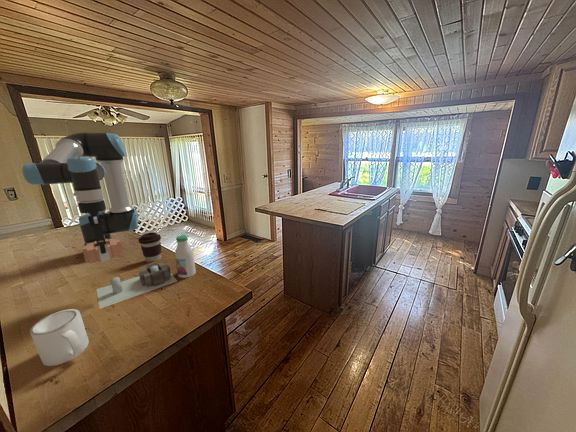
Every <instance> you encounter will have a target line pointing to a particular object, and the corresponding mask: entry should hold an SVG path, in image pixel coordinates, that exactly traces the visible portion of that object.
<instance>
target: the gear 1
mask: <svg viewBox="0 0 576 432" xmlns="http://www.w3.org/2000/svg"><path fill="white" fill-rule="evenodd" d="M111 238H112V237H111ZM105 241H106V244H107V248H108V252H109V256H110V260H109V261H111V260H113V258H119V257H120V256H121V254H123V247H122V243H121V240H120V238H117V239H116V238H115V237H114V238H112V239H105ZM99 242H101V241H99ZM109 242H110V243H109ZM93 243H94V244H97V242H96V241H95V242H92V243H87V244H86V246H84V245H83V246H82V247H81V249H82V253H83V257H84V258H83V259H84V260H85V261H84V262H85V263H88V262H89V264H95V263H102V262H101V259H100V255H99V251H98V248H97V246H95V245H94V244H93Z"/></svg>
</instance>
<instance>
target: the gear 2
mask: <svg viewBox="0 0 576 432" xmlns="http://www.w3.org/2000/svg"><path fill="white" fill-rule="evenodd" d="M152 266H158V270H159V271H156V272H152V273H151V270H150V267H152ZM171 274H172V272H171V267H170V265H169V263H164V261H162V262H159V263H157V262H156V263H155V262H154V263H151V264H148V265H146V267H142V268H140V271H138V276H139V277H140V282H141V284H142V286H144V285H146V286H147V287H150V286H152V285H154V286H157V285H160V284H163V283H165V281H168V280H170V277H171Z"/></svg>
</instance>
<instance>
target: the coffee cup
mask: <svg viewBox="0 0 576 432" xmlns="http://www.w3.org/2000/svg"><path fill="white" fill-rule="evenodd" d="M161 239H162V236H161V235H160V234H158V233H157V232H155V231H154V232H152V231H151V232H146V233H143V234H142V235H141V237H139V238H138V239H137V240H138V243H139V244H140V248H141V250H142V251H141V252H142V254H143V257H144V261H145V263H151V262H156V261H158V260H160V259H162V245H161V244H162V243H161Z"/></svg>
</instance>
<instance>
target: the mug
mask: <svg viewBox="0 0 576 432" xmlns="http://www.w3.org/2000/svg"><path fill="white" fill-rule="evenodd" d="M83 321H84V320H83V318H82V315H81V311H80V310H78V309H75V308H67V309H63V310H58V311H56V312H53V313H51V314H47V315H46V316H45V317H43V318H41V319H39V320H38V321H37V322H35V323H34V324H33V325H32V327H30V330H29V333H30V336H31V338H32V340H33V344H34V346H35V348H36V350H37V353H38V356H39V358H40V360H41V363H42V364H43V366H47V367H55V366H59V365H61V364H65V363H67V362H69V361H71V360H73V359H74V358H76V357H78V356H79V355H81V354H82V353H84V351H85V350H86V348H87V347H88V345H89V342H90V341H89V337H88V334H87V331H86V328H85V324H84V322H83Z"/></svg>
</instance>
